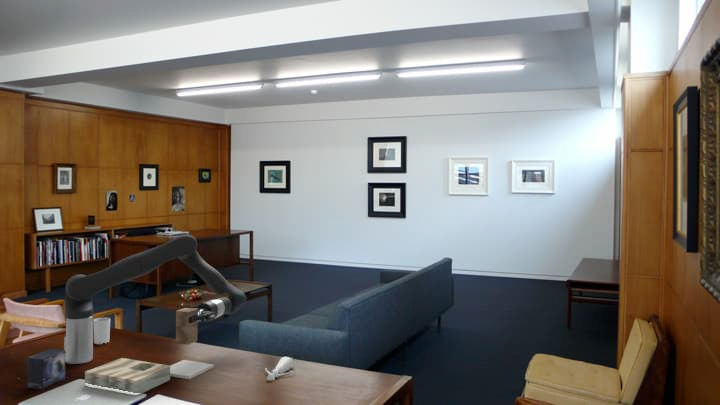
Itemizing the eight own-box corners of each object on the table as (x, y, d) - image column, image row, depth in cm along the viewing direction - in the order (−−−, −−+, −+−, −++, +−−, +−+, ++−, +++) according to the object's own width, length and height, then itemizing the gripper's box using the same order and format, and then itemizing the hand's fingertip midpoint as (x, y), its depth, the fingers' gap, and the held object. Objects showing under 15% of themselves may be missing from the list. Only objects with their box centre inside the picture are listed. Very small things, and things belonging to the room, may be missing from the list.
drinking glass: (113, 341, 229) (113, 318, 229) (100, 345, 223) (100, 322, 223) (103, 339, 232) (103, 316, 232) (89, 343, 226) (89, 320, 226)
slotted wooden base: (84, 386, 177) (84, 371, 176) (121, 371, 192) (121, 357, 192) (136, 396, 169) (136, 380, 169) (170, 379, 184) (170, 365, 184)
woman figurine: (303, 355, 199) (283, 374, 182) (303, 367, 200) (284, 387, 182) (275, 352, 202) (253, 371, 185) (275, 364, 203) (254, 383, 186)
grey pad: (157, 373, 190) (157, 371, 190) (183, 362, 203) (183, 359, 203) (189, 379, 185) (189, 376, 185) (213, 367, 198) (213, 364, 198)
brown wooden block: (175, 343, 192) (176, 310, 192) (185, 339, 197) (185, 307, 197) (187, 344, 190) (188, 312, 190) (197, 340, 195) (197, 308, 195)
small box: (42, 390, 173) (42, 358, 173) (25, 388, 174) (25, 357, 174) (66, 379, 183) (66, 349, 183) (50, 377, 184) (50, 348, 184)
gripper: (195, 299, 209) (166, 307, 193) (226, 302, 204) (198, 311, 188) (195, 317, 209) (166, 327, 193) (226, 321, 204) (198, 332, 188)
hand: (182, 319), depth 191 cm, fingers closed on brown wooden block, 5 cm apart
